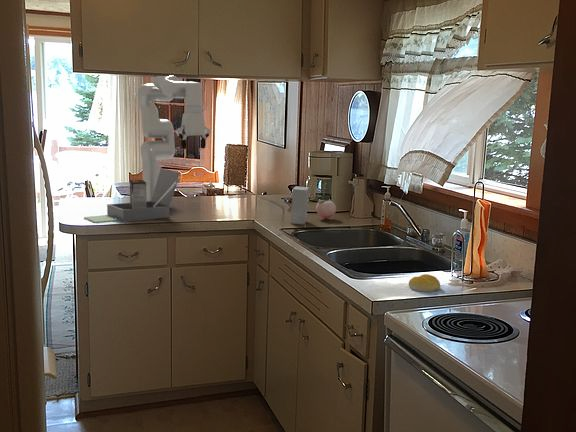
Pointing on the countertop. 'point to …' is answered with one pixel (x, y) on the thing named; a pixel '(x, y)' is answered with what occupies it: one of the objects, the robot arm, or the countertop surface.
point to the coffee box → (138, 194)
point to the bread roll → (424, 283)
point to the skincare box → (299, 205)
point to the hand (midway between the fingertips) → (193, 148)
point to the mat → (100, 219)
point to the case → (154, 207)
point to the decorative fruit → (326, 208)
